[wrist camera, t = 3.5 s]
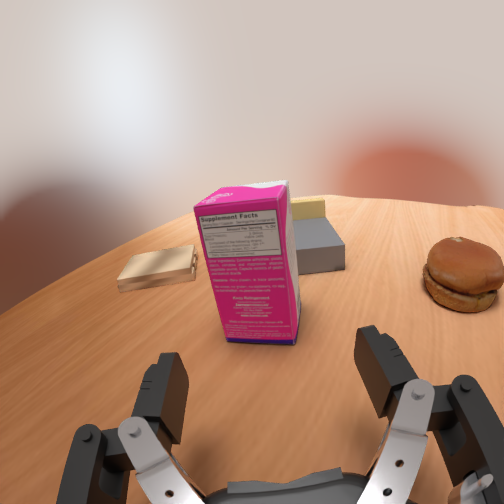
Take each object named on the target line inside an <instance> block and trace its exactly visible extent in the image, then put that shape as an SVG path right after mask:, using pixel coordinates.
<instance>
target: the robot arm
mask: <svg viewBox="0 0 504 504" xmlns="http://www.w3.org/2000/svg"><path fill="white" fill-rule="evenodd" d="M354 360H355V364H356V366H357V369H358V371H359V373H360V375H361V378H362V380H363V382H364V385H365V387H366V389H367V391H368V394H369V396H370V399H371V401H372V403H373V406H374V408H375V410H376V413H377V415H378V418H382V417H385V416H387V418H388V420H389V422H388V424H387V427H386V430H385V432H384V435H383V437H382V440H381V442H380V445H379V447H378V449H377V452H376V454H375V456H374V458H373V460H372V462H371V464H370V466H369V468H368V470H367V472H366V474H365V476H364V475H360V474H356V473H347V472H342V471H341V467H339V468H335V469H330V470H326V471H321V472H316V473H312V474H310V475H307V476H305V477H302V478H300V479H297V480H295V481H292V482H289V483H285V484H280V483H270V482H262V481H241V482H228V488H224V489H221V490H218V491H216V492H213V493H211V494H210V495H208V496H206V495H205V494H204V492H203V491H202V490H201V489H200V488H199V487H198V486H197V485H196V484H195V483H194V481H193V480H192V479H191V478H190V476H189V475H188V474H187V473H186V471H185V470H184V469H183V467H182V466H181V465H180V463H179V462H178V461H177V459H176V458H175V456H174V455H173V454H172V452H171V447H172V444H180V442H181V435H182V428H183V421H184V414H185V407H186V401H187V395H188V388H189V379H188V375H187V372H186V370H185V368H184V365H183V363H182V360H181V358H180V356H179V354H178V353H177V352H172V353H161V354H160V356H159V360H158V363H157V364H152V365H151V366H150V367H149V368H148V369H147V371H146V372H145V374H144V377H143V380H142V383H141V387H140V390H139V393H138V396H137V399H136V403H135V406H134V409H133V412H132V415H131V417H130V418H127V419H125V420H124V421H123V422H122V423H121V424H120V426H119V427H118V428H114V429H108V430H102V431H101V430H100V429H99V428H98V427H97V426H95V425H92V424H86V425H83V426H81V427H80V428H79V429H78V430H77V431H76V433H75V435H74V438H73V441H72V444H71V448H70V451H69V454H68V458H67V461H66V465H65V469H64V472H63V476H62V480H61V484H60V488H59V493H58V497H57V502H56V504H126V499H127V491H128V483H129V476H130V470H136V471H137V474H136V478H137V480H138V482H139V484H140V485H141V487H142V489H143V490H144V492H145V494H146V495H147V497H148V498H149V500H150V501H151V503H152V504H417V503H415V502H413V501H411V500H409V499H408V496H409V494H410V491H411V489H412V486H413V484H414V481H415V478H416V476H417V473H418V470H419V467H420V464H421V461H422V458H423V455H424V451H425V448H426V444H427V440H428V436H427V435H426V431H433V434H434V436H435V438H436V441H437V443H438V446H439V448H440V451H441V453H442V456H443V459H444V461H445V464H446V467H447V470H448V472H449V475H450V478H451V481H452V484H453V487H454V488H453V489H452V491H451V492H450V494H449V497H448V504H504V427H503V425H502V423H501V421H500V420H499V418H498V416H497V414H496V412H495V411H494V409H493V407H492V405H491V404H490V402H489V400H488V398H487V397H486V395H485V393H484V392H483V390H482V389H481V387H480V385H479V384H478V382H477V381H476V380H475V379H474V378H473V377H471V376H469V375H460V376H457V377H456V378H455V379H454V380H453V382H452V384H450V385H440V386H432V385H431V384H430V383H429V382H428V381H426V380H423V379H419V378H418V376H417V375H416V373H415V371H414V370H413V368H412V367H411V365H410V363H409V362H408V360H407V359H406V357H405V355H403V352H402V351H401V349H399V346H398V344H397V343H396V341H395V340H394V339H393V338H392V337H390V336H389V335H387V334H386V333H384V334H380V333H379V331H378V330H377V328H376V327H375V326H374V325H370V326H366V327H362V328H358V329H357V333H356V341H355V348H354Z"/></svg>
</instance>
